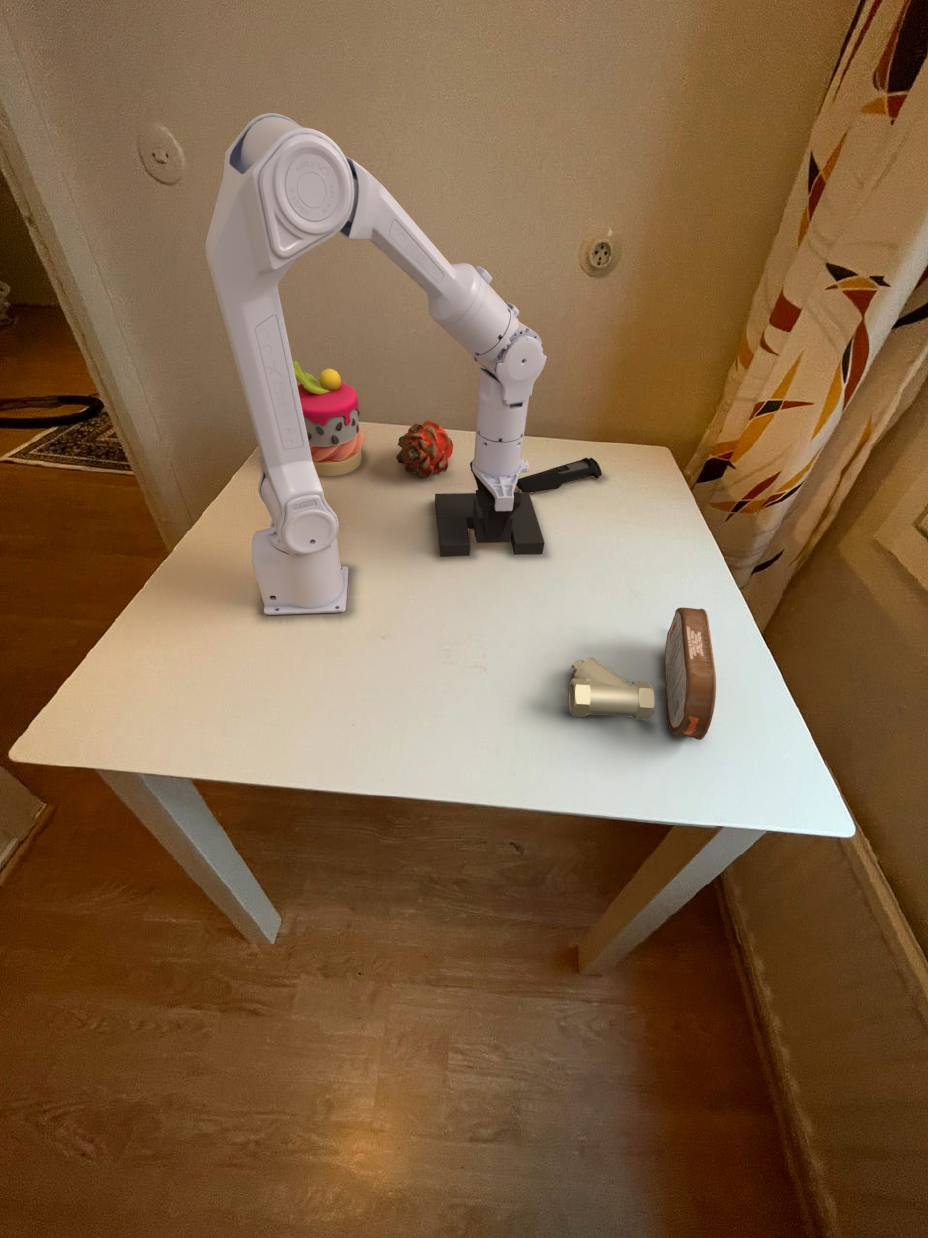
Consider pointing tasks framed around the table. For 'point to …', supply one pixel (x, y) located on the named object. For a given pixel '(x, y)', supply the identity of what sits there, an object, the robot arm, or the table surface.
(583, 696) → the pipe fitting
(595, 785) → the table surface
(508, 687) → the table surface
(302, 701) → the table surface
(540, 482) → the electric trimmer
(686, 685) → the tin
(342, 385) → the cake
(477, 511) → the pad
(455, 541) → the pad base
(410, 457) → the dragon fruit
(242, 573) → the table surface
